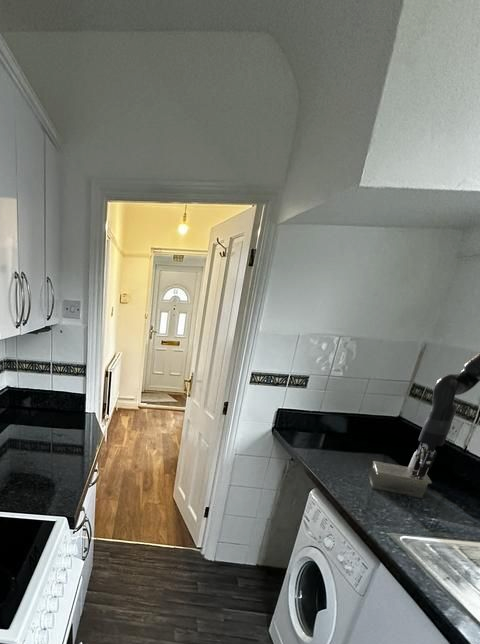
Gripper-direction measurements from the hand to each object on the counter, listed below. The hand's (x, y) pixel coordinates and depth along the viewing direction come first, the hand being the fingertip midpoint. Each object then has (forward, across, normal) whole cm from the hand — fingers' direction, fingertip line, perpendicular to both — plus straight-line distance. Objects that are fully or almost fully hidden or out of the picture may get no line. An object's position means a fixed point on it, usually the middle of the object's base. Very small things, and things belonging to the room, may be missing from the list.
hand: (418, 472), depth 156 cm
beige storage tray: (+7, 0, +6) cm, 9 cm away
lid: (+1, 0, +5) cm, 6 cm away
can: (+7, +15, -3) cm, 17 cm away
